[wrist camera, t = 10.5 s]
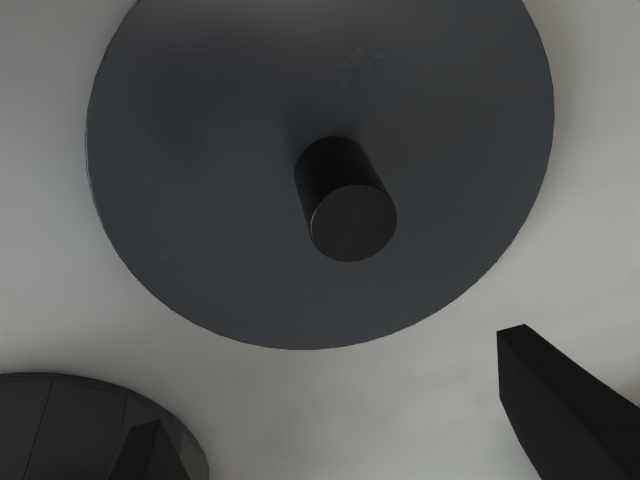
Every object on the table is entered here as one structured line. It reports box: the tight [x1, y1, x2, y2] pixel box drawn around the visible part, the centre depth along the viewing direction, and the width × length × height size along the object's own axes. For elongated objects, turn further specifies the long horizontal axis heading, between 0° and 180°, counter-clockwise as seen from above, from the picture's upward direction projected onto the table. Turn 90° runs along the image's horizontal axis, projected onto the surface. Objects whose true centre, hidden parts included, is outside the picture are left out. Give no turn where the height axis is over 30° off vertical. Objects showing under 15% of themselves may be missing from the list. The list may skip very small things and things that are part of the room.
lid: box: [85, 0, 554, 350], centre depth 18 cm, size 15×15×4 cm
